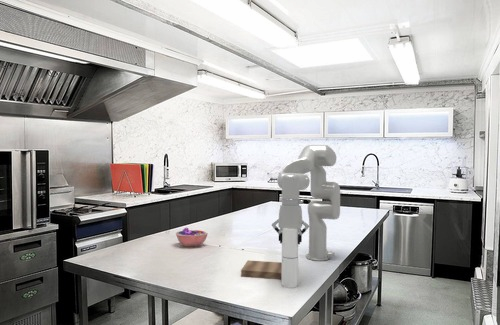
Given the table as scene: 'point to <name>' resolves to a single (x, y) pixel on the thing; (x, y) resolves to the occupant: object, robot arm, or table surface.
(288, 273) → the cylindrical container
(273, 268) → the walnut base board
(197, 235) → the cell model
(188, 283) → the table surface
